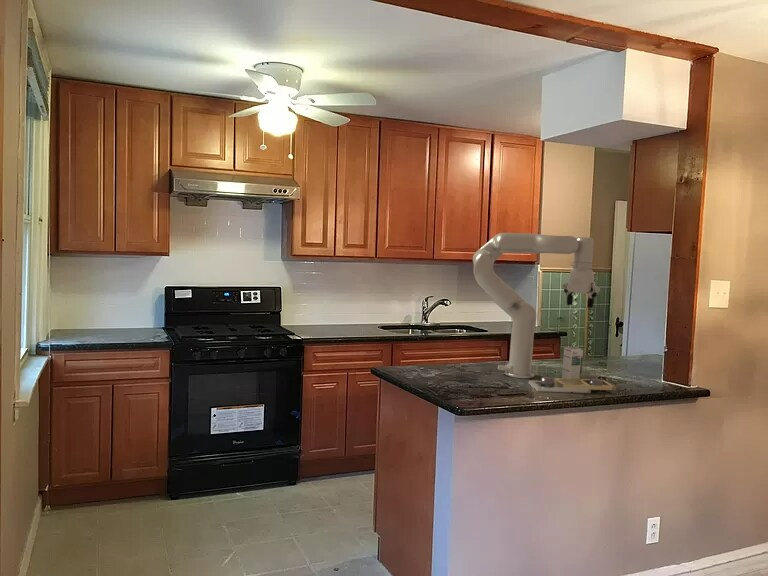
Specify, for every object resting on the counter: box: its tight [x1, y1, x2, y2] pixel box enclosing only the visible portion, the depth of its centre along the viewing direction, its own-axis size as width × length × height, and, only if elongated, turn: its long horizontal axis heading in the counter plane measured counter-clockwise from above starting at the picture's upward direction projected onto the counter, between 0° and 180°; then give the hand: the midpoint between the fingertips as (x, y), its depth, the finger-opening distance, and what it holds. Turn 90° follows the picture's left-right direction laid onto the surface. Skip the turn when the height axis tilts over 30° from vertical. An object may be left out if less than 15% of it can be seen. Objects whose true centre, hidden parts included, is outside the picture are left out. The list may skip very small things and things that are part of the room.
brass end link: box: [553, 377, 617, 395], centre depth 249 cm, size 21×11×4 cm, turn 94°
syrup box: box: [561, 346, 584, 379], centre depth 261 cm, size 6×6×14 cm
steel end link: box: [528, 376, 592, 394], centre depth 248 cm, size 21×11×4 cm, turn 94°
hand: (579, 306), depth 264 cm, fingers open, 9 cm apart
